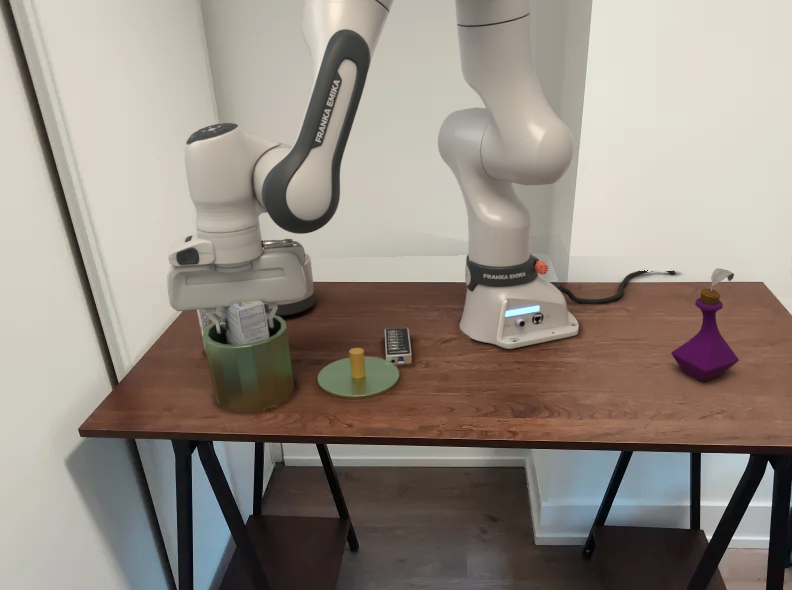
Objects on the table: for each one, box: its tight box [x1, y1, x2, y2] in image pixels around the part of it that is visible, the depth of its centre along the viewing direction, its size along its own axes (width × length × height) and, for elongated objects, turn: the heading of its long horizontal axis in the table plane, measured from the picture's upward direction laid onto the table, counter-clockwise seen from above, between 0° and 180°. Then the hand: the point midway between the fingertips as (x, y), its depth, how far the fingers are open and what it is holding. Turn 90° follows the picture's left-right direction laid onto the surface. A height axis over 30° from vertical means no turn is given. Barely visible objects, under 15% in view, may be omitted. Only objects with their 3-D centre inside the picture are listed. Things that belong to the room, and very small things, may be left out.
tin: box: [202, 313, 295, 411], centre depth 109 cm, size 13×13×12 cm
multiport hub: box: [384, 327, 413, 365], centre depth 123 cm, size 4×11×2 cm, turn 4°
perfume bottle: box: [670, 267, 740, 383], centre depth 109 cm, size 8×8×18 cm
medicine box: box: [220, 301, 269, 345], centre depth 106 cm, size 8×4×9 cm, turn 35°
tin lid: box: [316, 347, 400, 400], centre depth 113 cm, size 14×14×6 cm
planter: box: [264, 252, 316, 318], centre depth 139 cm, size 13×13×10 cm
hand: (245, 329), depth 107 cm, fingers closed on medicine box, 6 cm apart
